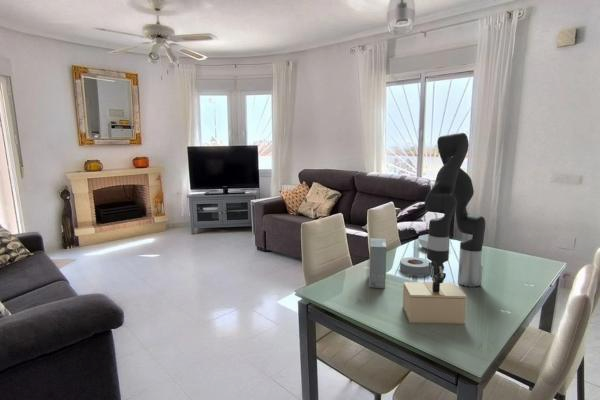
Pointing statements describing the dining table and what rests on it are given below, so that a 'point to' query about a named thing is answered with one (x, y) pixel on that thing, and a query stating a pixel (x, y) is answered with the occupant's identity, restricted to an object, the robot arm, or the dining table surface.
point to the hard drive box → (377, 263)
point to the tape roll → (415, 266)
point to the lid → (426, 291)
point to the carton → (434, 309)
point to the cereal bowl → (423, 240)
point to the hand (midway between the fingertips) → (435, 291)
